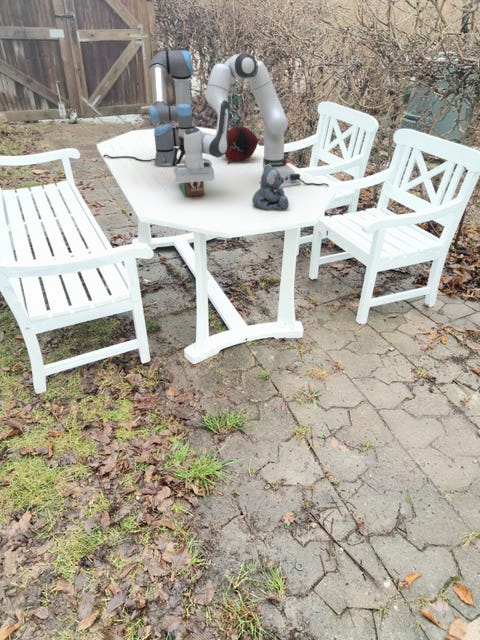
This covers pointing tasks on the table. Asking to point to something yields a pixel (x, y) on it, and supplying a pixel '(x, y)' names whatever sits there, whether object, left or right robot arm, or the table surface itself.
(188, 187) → the drawer
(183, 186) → the cabinet
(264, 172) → the koala plush
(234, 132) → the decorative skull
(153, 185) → the table surface
